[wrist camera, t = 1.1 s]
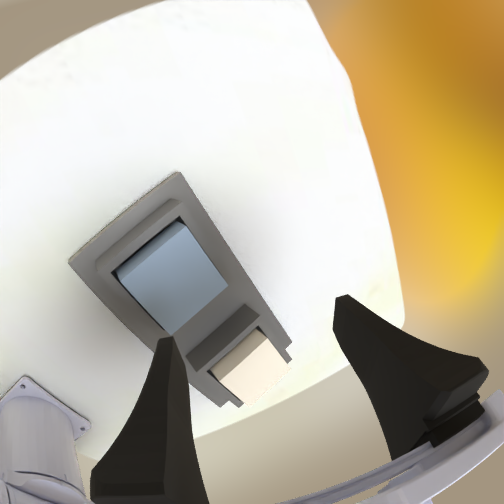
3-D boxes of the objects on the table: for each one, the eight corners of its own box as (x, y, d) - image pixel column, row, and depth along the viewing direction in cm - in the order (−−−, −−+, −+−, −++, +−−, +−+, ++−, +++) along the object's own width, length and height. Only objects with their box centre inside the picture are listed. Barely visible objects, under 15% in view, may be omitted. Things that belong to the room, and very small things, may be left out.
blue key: (162, 322, 21) (170, 335, 19) (115, 270, 18) (120, 281, 16) (215, 275, 22) (228, 285, 20) (176, 220, 19) (186, 226, 18)
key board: (215, 401, 29) (232, 423, 26) (68, 259, 19) (67, 275, 16) (286, 337, 32) (307, 353, 29) (176, 172, 21) (192, 172, 19)
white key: (238, 394, 26) (249, 407, 24) (208, 367, 24) (219, 381, 22) (278, 358, 27) (291, 369, 26) (253, 327, 25) (267, 338, 23)
